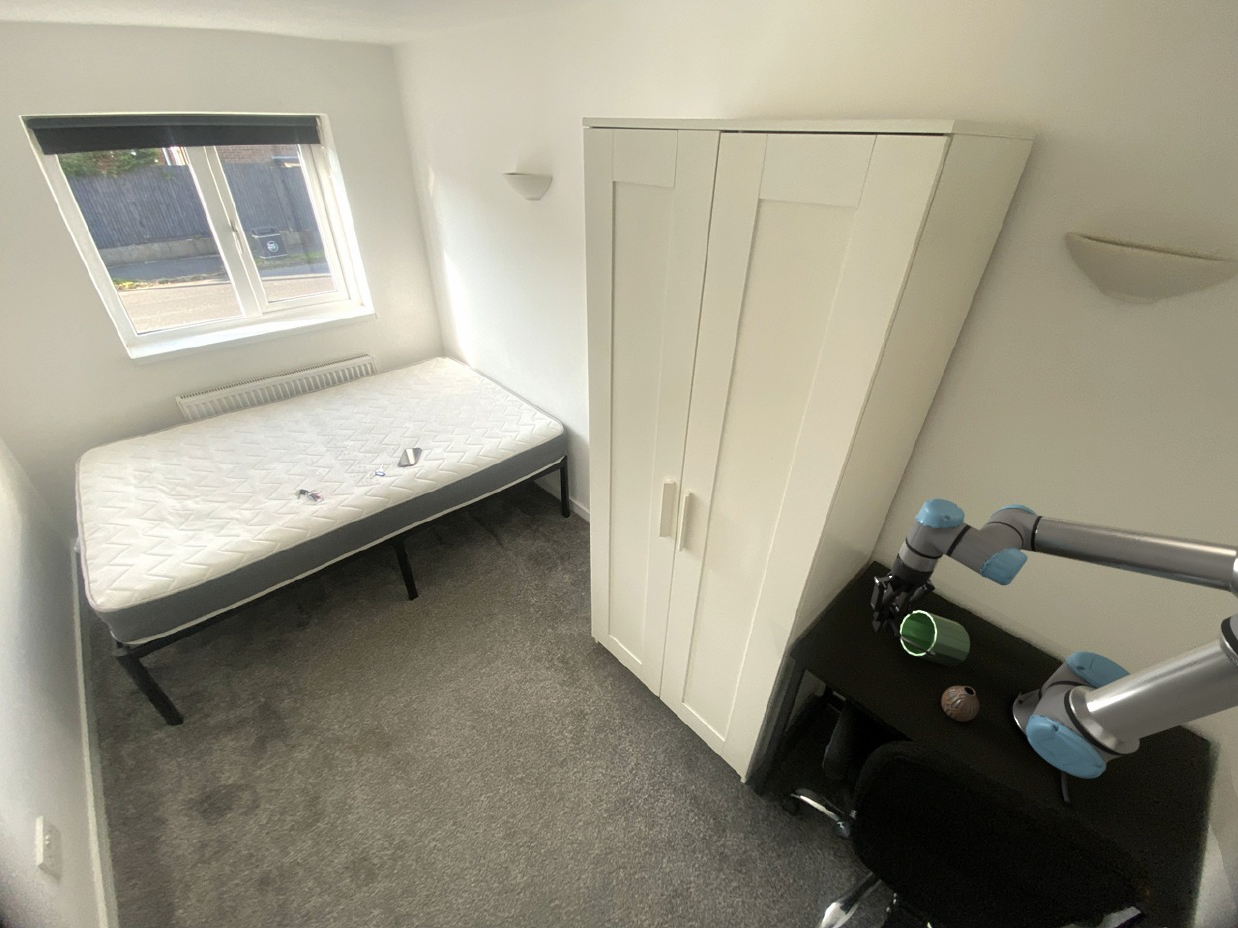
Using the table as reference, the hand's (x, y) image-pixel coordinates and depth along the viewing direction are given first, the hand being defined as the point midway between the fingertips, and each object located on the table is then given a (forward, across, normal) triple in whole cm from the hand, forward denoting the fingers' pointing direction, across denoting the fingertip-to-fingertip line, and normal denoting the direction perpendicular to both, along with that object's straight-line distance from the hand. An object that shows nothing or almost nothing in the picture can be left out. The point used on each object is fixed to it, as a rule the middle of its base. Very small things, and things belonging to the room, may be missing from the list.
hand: (880, 628), depth 124 cm
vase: (+10, -14, +15) cm, 23 cm away
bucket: (+4, -19, 0) cm, 19 cm away
